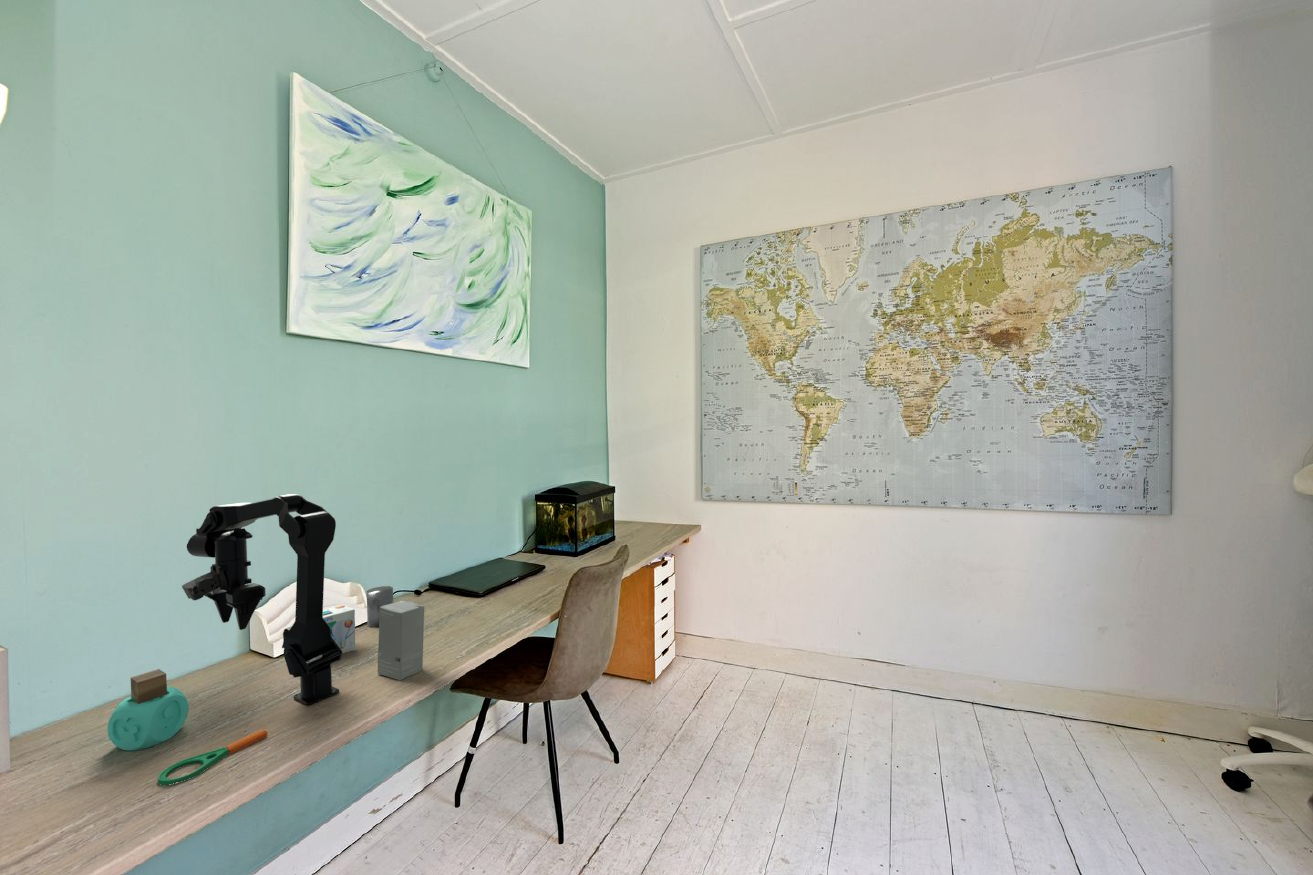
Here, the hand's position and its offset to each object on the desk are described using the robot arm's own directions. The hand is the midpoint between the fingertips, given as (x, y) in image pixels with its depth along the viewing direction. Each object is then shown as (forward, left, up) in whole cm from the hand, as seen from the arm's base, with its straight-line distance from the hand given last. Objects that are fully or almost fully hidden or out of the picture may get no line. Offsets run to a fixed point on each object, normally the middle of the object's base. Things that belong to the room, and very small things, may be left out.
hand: (233, 625), depth 121 cm
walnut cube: (-13, +18, -5) cm, 23 cm away
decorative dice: (-13, +18, -13) cm, 26 cm away
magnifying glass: (-32, +14, -14) cm, 38 cm away
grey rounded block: (+6, -38, -13) cm, 41 cm away
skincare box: (-30, -22, -13) cm, 40 cm away
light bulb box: (-3, -19, -13) cm, 23 cm away
